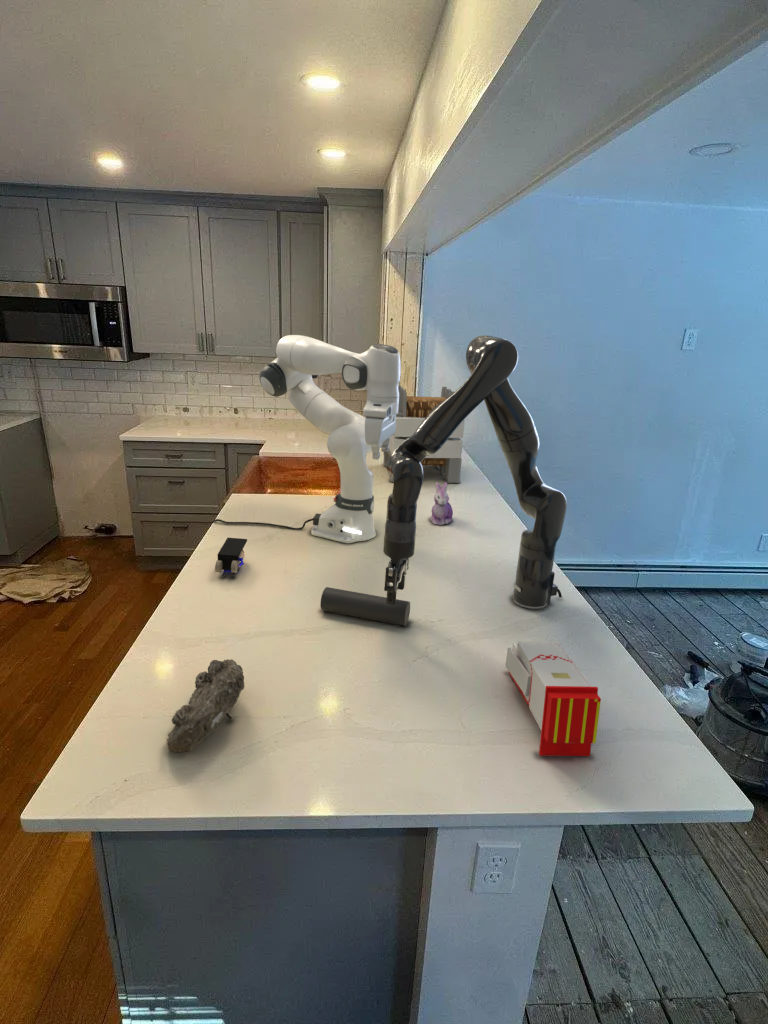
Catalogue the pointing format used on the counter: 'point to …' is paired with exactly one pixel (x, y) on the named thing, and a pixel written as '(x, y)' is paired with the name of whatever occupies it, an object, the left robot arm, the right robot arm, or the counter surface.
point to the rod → (365, 606)
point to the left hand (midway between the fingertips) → (380, 455)
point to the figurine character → (230, 556)
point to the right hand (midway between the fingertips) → (395, 596)
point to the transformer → (410, 420)
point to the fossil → (206, 705)
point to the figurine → (441, 506)
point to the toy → (556, 697)
